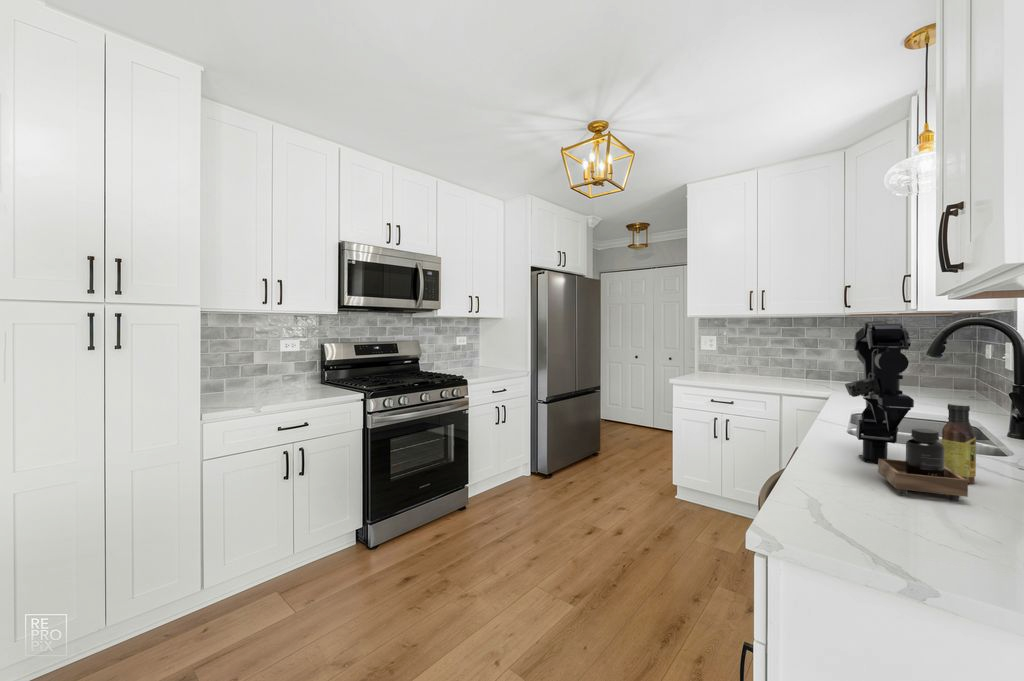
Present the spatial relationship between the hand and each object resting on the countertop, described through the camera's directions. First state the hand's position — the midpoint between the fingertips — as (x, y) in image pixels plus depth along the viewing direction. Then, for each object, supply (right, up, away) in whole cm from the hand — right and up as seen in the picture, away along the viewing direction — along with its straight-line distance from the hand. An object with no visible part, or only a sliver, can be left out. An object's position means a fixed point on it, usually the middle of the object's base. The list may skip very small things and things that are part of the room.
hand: (884, 428), depth 117 cm
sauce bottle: (+16, -13, -4) cm, 21 cm away
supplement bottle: (0, -11, -11) cm, 15 cm away
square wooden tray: (0, -13, -10) cm, 17 cm away
